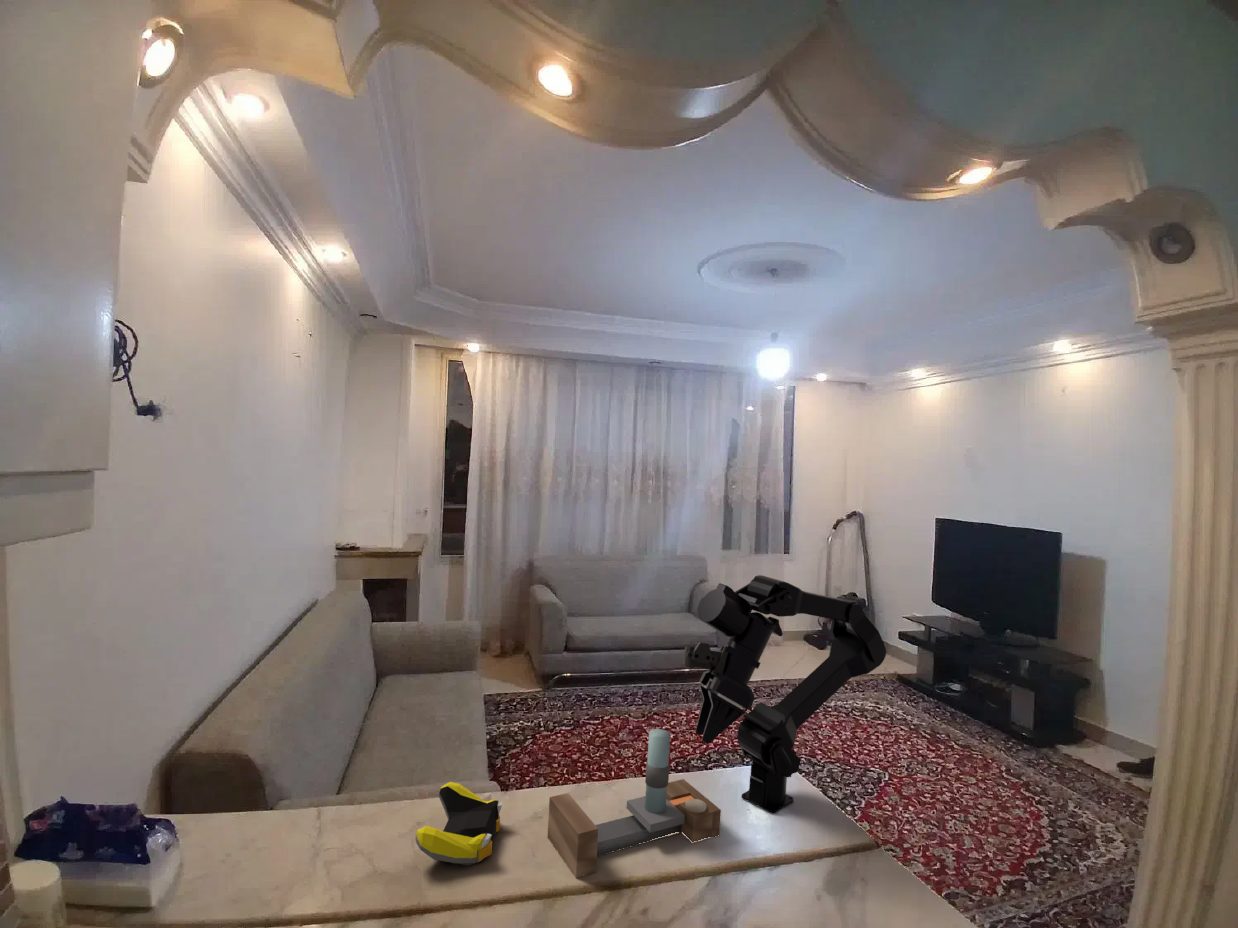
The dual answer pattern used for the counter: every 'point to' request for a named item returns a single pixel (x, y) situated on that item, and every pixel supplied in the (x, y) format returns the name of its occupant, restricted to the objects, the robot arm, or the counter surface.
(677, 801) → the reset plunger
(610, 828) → the track
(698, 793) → the end cabinet
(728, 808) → the counter surface
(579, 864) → the end cabinet
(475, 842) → the gaming controller
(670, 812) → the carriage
